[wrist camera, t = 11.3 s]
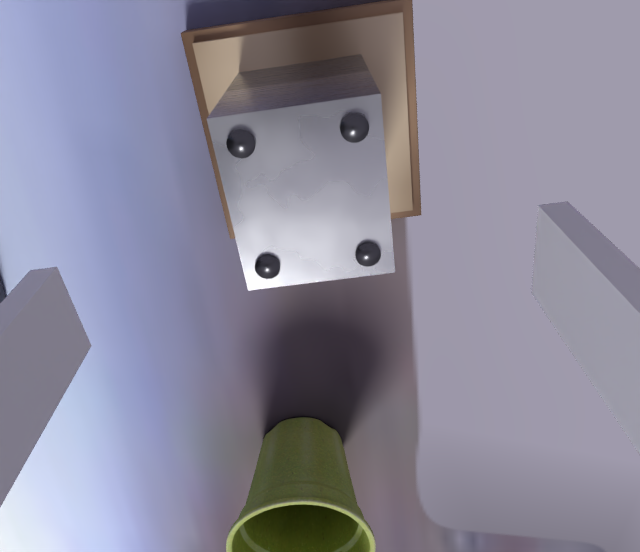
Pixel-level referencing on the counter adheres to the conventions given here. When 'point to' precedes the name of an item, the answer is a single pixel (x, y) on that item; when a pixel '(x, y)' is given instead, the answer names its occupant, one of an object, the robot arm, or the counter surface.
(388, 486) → the counter surface
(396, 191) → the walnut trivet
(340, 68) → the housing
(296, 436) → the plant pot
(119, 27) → the counter surface
